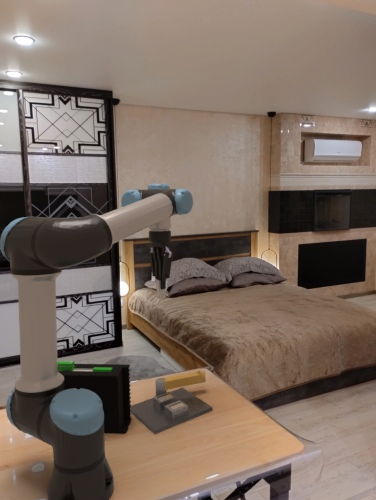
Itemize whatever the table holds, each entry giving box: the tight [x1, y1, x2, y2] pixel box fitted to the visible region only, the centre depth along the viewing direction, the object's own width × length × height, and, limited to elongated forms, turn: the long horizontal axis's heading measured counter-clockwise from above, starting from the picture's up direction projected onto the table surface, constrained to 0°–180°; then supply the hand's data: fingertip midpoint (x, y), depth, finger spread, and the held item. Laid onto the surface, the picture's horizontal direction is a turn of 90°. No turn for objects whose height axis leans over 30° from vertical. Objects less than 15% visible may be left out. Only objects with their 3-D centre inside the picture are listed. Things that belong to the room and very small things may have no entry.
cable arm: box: [155, 370, 206, 396], centre depth 140 cm, size 18×4×6 cm, turn 112°
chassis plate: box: [130, 387, 214, 434], centre depth 131 cm, size 22×18×4 cm
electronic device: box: [57, 360, 133, 435], centre depth 124 cm, size 28×11×20 cm, turn 86°
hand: (161, 297), depth 139 cm, fingers closed
